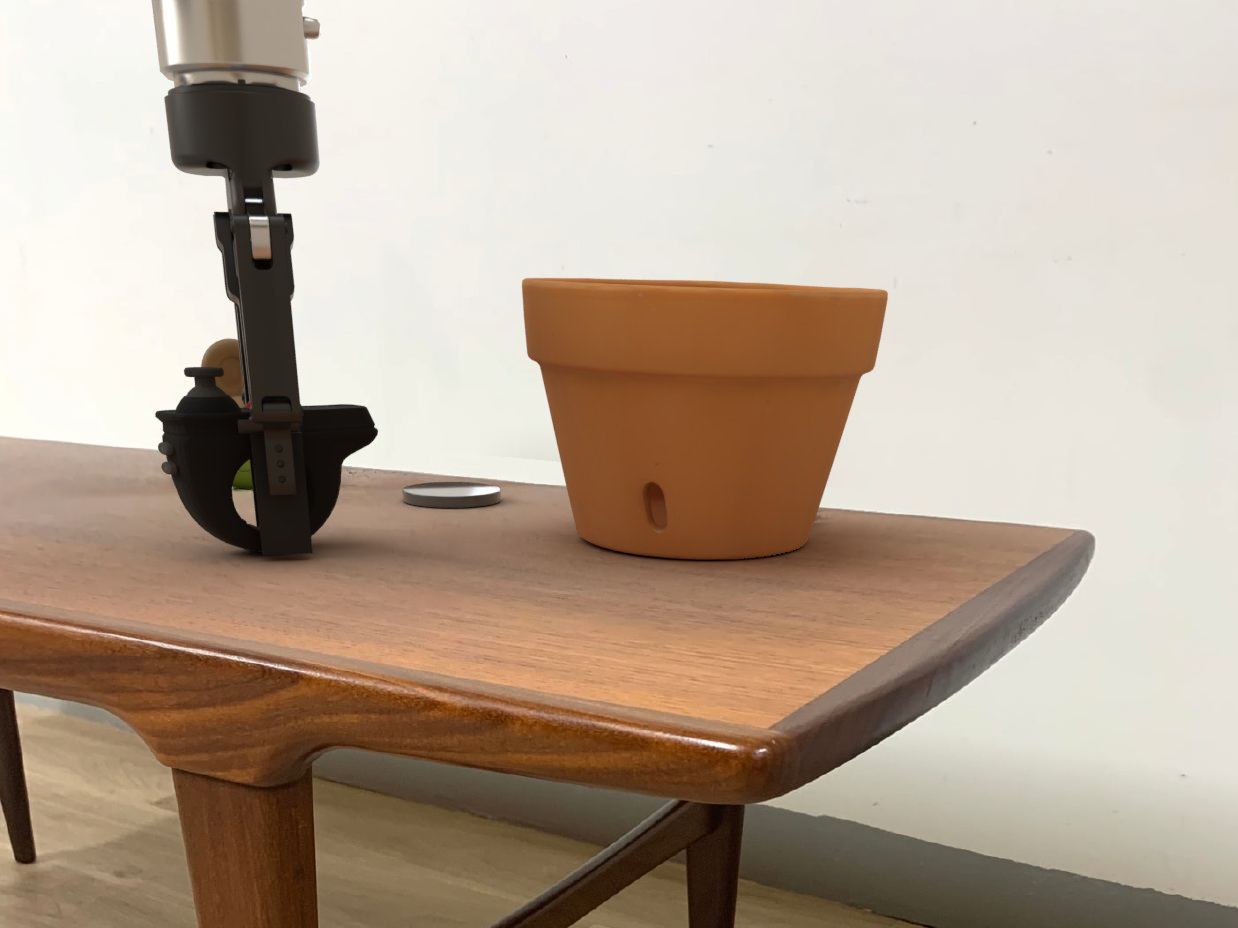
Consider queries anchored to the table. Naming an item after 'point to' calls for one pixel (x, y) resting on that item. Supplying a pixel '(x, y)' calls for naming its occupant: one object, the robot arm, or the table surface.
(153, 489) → the table surface
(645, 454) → the flower pot
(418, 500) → the slate coaster
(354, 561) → the table surface
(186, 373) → the controller
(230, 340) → the snail figurine
